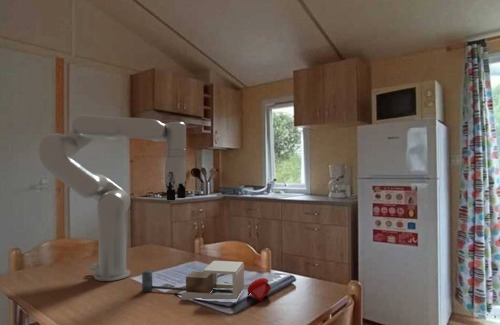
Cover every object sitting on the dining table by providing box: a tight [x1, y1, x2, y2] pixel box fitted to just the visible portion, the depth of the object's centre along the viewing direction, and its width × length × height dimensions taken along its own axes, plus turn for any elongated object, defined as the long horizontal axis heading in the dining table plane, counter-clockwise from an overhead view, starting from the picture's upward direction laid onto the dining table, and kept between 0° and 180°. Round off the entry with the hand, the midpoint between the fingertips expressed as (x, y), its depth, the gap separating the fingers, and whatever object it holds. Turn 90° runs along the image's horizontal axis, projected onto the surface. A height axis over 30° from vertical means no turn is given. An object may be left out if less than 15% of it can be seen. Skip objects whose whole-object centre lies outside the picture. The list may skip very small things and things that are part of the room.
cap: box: [246, 277, 272, 302], centre depth 108 cm, size 8×6×6 cm
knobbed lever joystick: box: [141, 269, 214, 293], centre depth 113 cm, size 23×6×6 cm, turn 79°
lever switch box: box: [180, 260, 245, 301], centre depth 111 cm, size 17×11×9 cm, turn 79°
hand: (176, 199), depth 134 cm, fingers open, 9 cm apart
